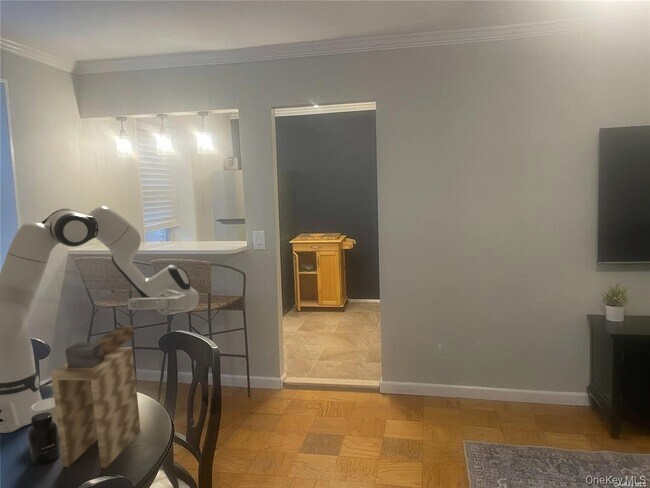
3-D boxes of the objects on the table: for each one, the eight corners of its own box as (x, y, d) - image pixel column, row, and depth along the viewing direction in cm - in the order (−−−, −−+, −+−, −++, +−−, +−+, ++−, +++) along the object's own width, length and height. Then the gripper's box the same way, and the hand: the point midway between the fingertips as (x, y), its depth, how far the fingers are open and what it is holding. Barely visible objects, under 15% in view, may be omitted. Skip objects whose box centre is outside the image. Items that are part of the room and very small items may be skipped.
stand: (102, 429, 141) (93, 346, 137) (140, 430, 140) (132, 346, 136) (63, 466, 123) (51, 372, 119) (106, 468, 122) (95, 372, 118)
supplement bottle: (48, 466, 124) (42, 423, 122) (25, 464, 125) (19, 422, 123) (66, 451, 130) (61, 410, 129) (44, 449, 132) (39, 409, 130)
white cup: (52, 444, 134) (48, 411, 133) (29, 442, 136) (24, 409, 135) (72, 429, 142) (68, 398, 141) (49, 427, 144) (45, 396, 142)
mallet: (117, 336, 146) (116, 320, 145) (139, 336, 145) (137, 320, 144) (67, 367, 122) (65, 349, 121) (93, 367, 121) (90, 349, 121)
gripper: (142, 293, 170) (115, 295, 156) (192, 292, 164) (169, 294, 151) (142, 311, 169) (115, 314, 156) (193, 310, 164) (169, 314, 151)
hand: (142, 304), depth 153 cm, fingers open, 8 cm apart
